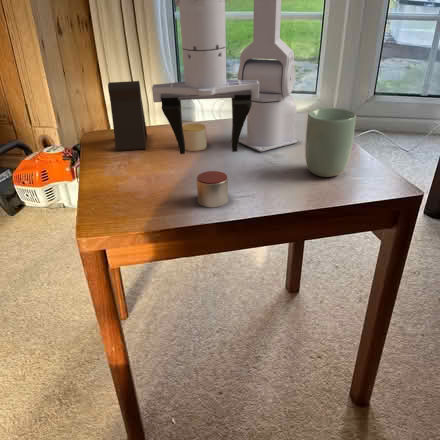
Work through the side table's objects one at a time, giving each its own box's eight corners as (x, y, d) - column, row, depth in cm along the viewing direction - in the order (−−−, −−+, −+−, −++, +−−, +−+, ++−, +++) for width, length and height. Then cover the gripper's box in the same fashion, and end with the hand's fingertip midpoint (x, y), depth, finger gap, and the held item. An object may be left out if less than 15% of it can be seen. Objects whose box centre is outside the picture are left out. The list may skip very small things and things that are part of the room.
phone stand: (145, 149, 92) (137, 86, 85) (116, 151, 91) (105, 88, 84) (147, 136, 99) (140, 76, 92) (120, 137, 99) (110, 78, 92)
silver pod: (217, 192, 74) (217, 168, 72) (234, 202, 71) (233, 177, 68) (192, 199, 72) (190, 175, 70) (208, 210, 69) (206, 185, 66)
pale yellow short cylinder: (199, 141, 95) (198, 122, 93) (211, 147, 92) (210, 127, 89) (179, 146, 93) (177, 126, 91) (190, 152, 90) (189, 132, 87)
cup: (310, 183, 76) (316, 122, 70) (297, 166, 82) (301, 109, 76) (355, 179, 77) (364, 118, 71) (338, 163, 83) (345, 106, 77)
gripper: (145, 54, 56) (157, 162, 64) (262, 50, 56) (260, 157, 64) (150, 46, 61) (161, 145, 69) (256, 41, 61) (255, 141, 69)
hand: (208, 150), depth 67 cm, fingers open, 7 cm apart
